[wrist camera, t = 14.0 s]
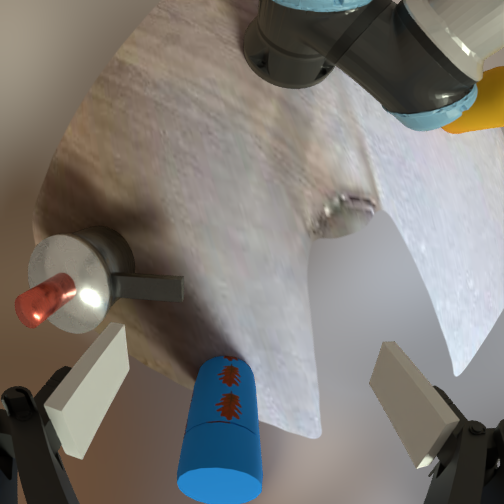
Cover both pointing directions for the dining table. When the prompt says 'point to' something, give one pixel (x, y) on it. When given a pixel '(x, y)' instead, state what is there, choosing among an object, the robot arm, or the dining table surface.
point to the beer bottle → (483, 105)
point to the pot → (130, 269)
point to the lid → (65, 285)
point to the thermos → (222, 436)
